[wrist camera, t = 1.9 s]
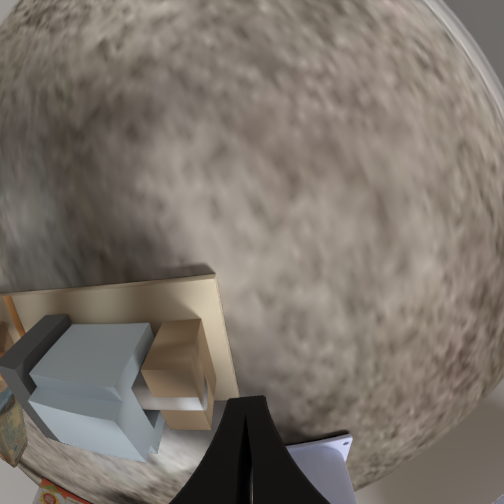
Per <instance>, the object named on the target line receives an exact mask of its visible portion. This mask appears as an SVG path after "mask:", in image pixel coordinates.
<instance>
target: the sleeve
mask: <svg viewBox="0 0 504 504" xmlns="http://www.w3.org/2000/svg"><path fill="white" fill-rule="evenodd" d="M153 341H154V336H153V333H152V330H151V327H150V324H149V323H131V324H72V325H71V327H70V328H69V329H68V330H67V331H66V332H65V333H64V334H63V335H62V336H61V337H60V338H59V340H58V341H57V342H56V343H55V344H54V345H53V346H52V347H51V348H50V350H49V351H48V352H47V353H46V354H45V355H44V356H43V358H42V359H41V360H40V361H39V362H38V363H37V365H36V366H35V367H34V368H33V369H32V371H31V372H30V373H29V374H30V376H31V377H32V379H33V381H34V382H35V384H36V386H37V388H36V389H35V391H34V392H33V393H32V395H31V396H30V398H29V399H28V401H29V403H30V404H31V406H32V407H33V408H34V410H35V411H36V412H37V414H38V415H39V416H40V418H41V419H42V420H43V422H44V423H45V424H46V425H47V427H48V428H49V429H50V430H51V431H52V433H53V434H54V435H55V436H56V437H57V439H58V440H59V441H60V442H62V443H65V444H68V445H72V446H75V447H78V448H82V449H85V450H89V451H92V452H96V453H100V454H105V455H109V456H114V457H118V458H124V459H129V460H135V461H141V462H147V458H148V454H149V453H154V454H157V453H158V449H159V444H160V440H161V436H162V433H163V429H164V425H165V419H164V417H163V415H162V414H161V412H160V410H148V409H142V408H141V406H140V404H139V402H138V401H137V399H136V397H135V395H134V393H133V391H132V389H131V387H132V385H133V383H134V380H135V378H136V376H137V374H138V372H139V369H140V368H141V367H142V365H143V363H144V361H145V358H146V356H147V354H148V352H149V350H150V348H151V346H152V343H153Z"/></svg>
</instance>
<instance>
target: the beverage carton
mask: <svg viewBox="0 0 504 504" xmlns="http://www.w3.org/2000/svg"><path fill="white" fill-rule="evenodd" d="M27 444H28V443H27V437H26V431H25V426H24V420H23V413H22V406H21V405H20V403H19V402H18V400H17V399H16V397H15V396H14V394H13V393H12V391H11V390H10V388H9V387H8V386H7V388H6V389H5V390H4V391H3V393H2V392H0V457H1V458H2V460H4V461H6V462H7V463H8V464H10V465H11V466H12V467H16V466H17V464H18V462H19V460H20V458H21V456H22V454H23V452H24V450H25V448H26V446H27Z"/></svg>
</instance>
